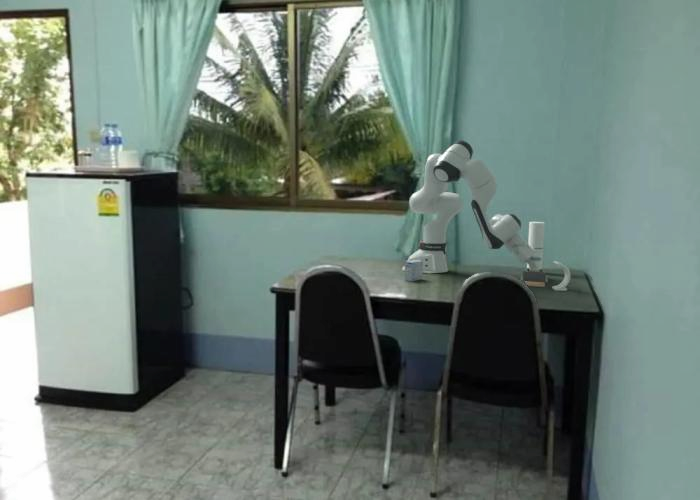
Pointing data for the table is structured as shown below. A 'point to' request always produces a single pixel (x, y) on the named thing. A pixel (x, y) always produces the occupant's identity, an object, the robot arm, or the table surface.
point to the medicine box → (413, 270)
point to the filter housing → (534, 275)
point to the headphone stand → (565, 281)
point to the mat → (535, 284)
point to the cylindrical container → (536, 239)
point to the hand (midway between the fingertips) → (536, 266)
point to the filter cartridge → (538, 264)
